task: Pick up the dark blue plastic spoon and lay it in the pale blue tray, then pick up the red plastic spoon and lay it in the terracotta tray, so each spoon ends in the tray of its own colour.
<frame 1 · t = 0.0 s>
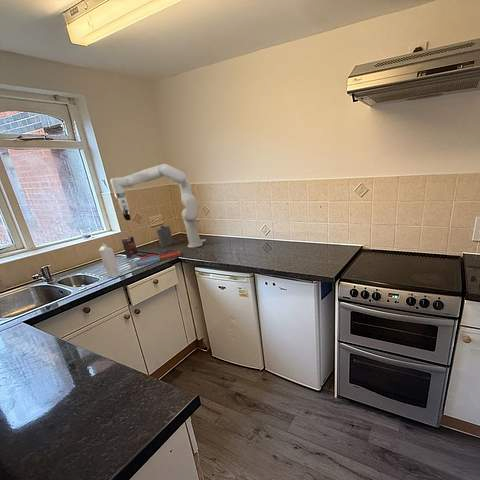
hand: (127, 219, 220), 31 cm above the countertop, tool pointing down, fingers open, 9 cm apart
supplement box: (133, 257, 239), on the countertop
pale blue tray: (148, 261, 222), on the countertop
milk: (114, 275, 200), on the countertop
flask: (167, 245, 264), on the countertop
blue spoon: (165, 253, 239), on the countertop
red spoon: (147, 257, 233), on the countertop
terracotta tray: (169, 256, 229), on the countertop
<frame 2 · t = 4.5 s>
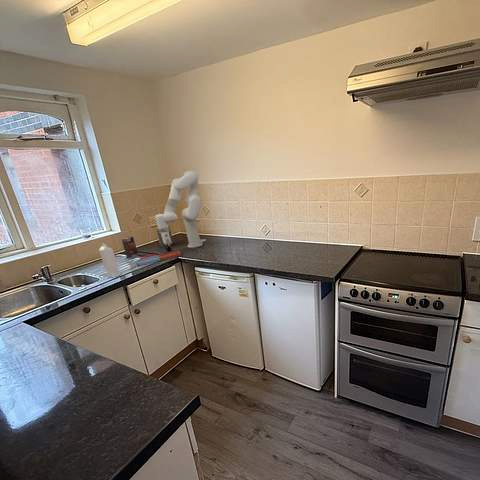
hand: (169, 252, 241), 0 cm above the countertop, tool pointing down, fingers closed on blue spoon, 1 cm apart
blue spoon: (165, 253, 239), on the countertop, touching gripper
everything else where it was.
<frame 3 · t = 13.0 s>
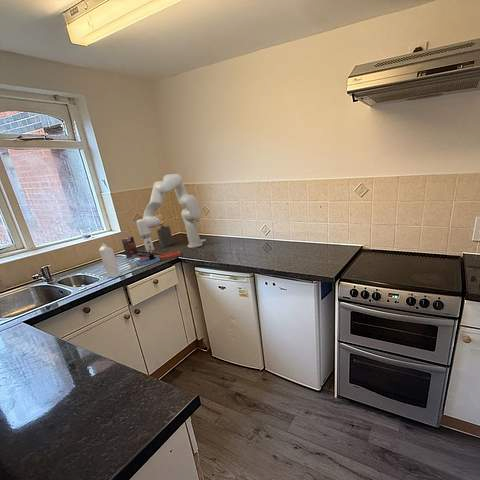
hand: (152, 259, 223), 1 cm above the countertop, tool pointing down, fingers closed on blue spoon, 2 cm apart
blue spoon: (148, 261, 222), point 1 cm above the countertop, touching gripper
everything else where it was.
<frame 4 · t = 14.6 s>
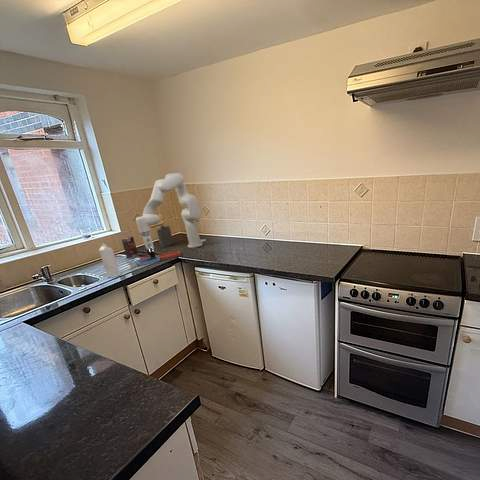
hand: (151, 256, 222), 4 cm above the countertop, tool pointing down, fingers open, 9 cm apart
blue spoon: (148, 261, 222), resting on pale blue tray
everything else where it was.
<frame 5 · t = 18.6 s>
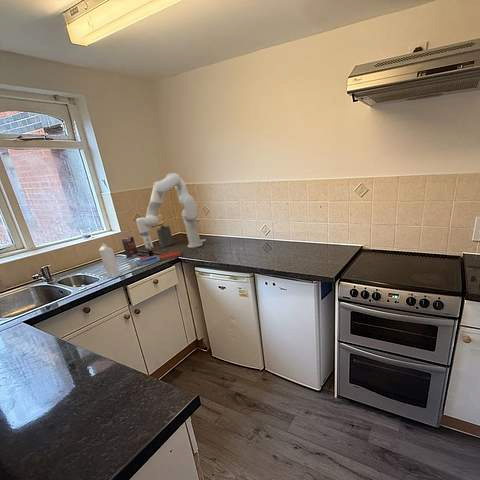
hand: (151, 256, 234), 0 cm above the countertop, tool pointing down, fingers closed on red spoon, 1 cm apart
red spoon: (147, 257, 233), on the countertop, touching gripper
everything else where it was.
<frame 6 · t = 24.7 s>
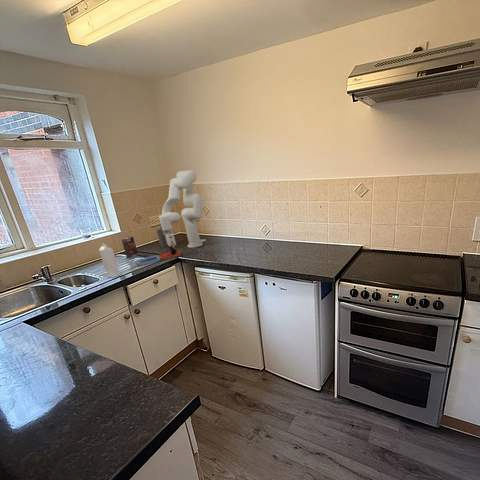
hand: (173, 254, 231), 1 cm above the countertop, tool pointing down, fingers closed on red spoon, 1 cm apart
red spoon: (169, 255, 229), point 1 cm above the countertop, touching gripper
everything else where it was.
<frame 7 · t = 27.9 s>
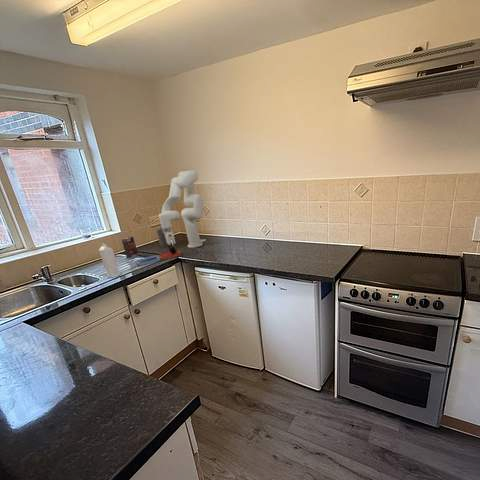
hand: (173, 252, 230), 2 cm above the countertop, tool pointing down, fingers open, 4 cm apart
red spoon: (169, 255, 229), resting on terracotta tray
everything else where it was.
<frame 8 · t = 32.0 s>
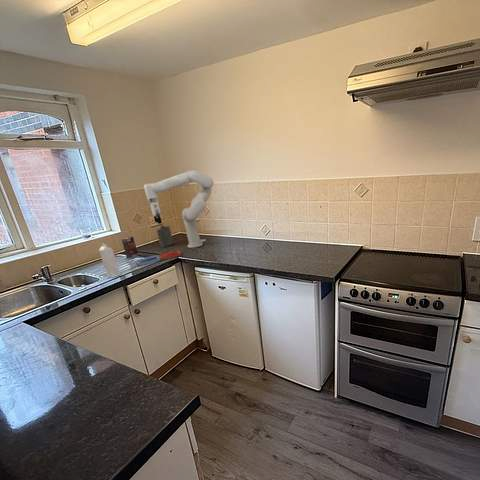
hand: (158, 222, 233), 24 cm above the countertop, tool pointing down, fingers open, 9 cm apart
nothing on the countertop moved.
at the end: blue spoon inside the target area in the pale blue tray (0.1 cm from its centre), point 0.5 cm above the pale blue tray's base; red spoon inside the target area in the terracotta tray (0.2 cm from its centre), point 0.5 cm above the terracotta tray's base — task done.
